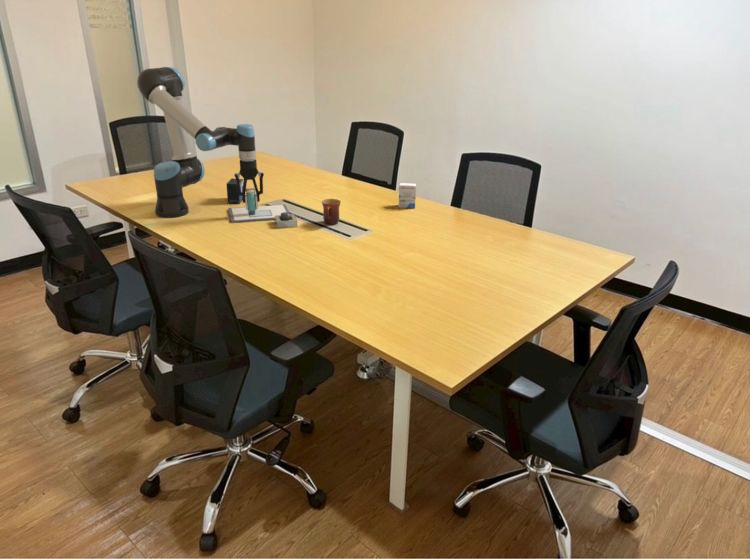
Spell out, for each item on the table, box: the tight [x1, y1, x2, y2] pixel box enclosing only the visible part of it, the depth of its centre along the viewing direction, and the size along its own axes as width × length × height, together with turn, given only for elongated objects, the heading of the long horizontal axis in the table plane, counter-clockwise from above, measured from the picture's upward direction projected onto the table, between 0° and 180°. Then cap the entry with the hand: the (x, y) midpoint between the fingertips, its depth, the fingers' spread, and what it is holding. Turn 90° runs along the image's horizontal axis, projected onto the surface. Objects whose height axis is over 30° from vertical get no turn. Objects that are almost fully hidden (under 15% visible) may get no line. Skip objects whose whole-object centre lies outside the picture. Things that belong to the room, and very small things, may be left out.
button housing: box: [274, 213, 298, 229], centre depth 260 cm, size 9×9×3 cm
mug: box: [321, 198, 342, 226], centre depth 261 cm, size 12×9×10 cm
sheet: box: [227, 204, 291, 224], centre depth 273 cm, size 28×20×1 cm
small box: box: [225, 177, 244, 205], centre depth 289 cm, size 11×6×10 cm, turn 179°
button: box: [281, 212, 291, 220], centre depth 259 cm, size 4×4×3 cm
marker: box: [245, 187, 256, 215], centre depth 267 cm, size 4×4×12 cm
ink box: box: [397, 182, 417, 209], centre depth 287 cm, size 9×5×12 cm, turn 84°
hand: (251, 208), depth 268 cm, fingers closed on marker, 4 cm apart
